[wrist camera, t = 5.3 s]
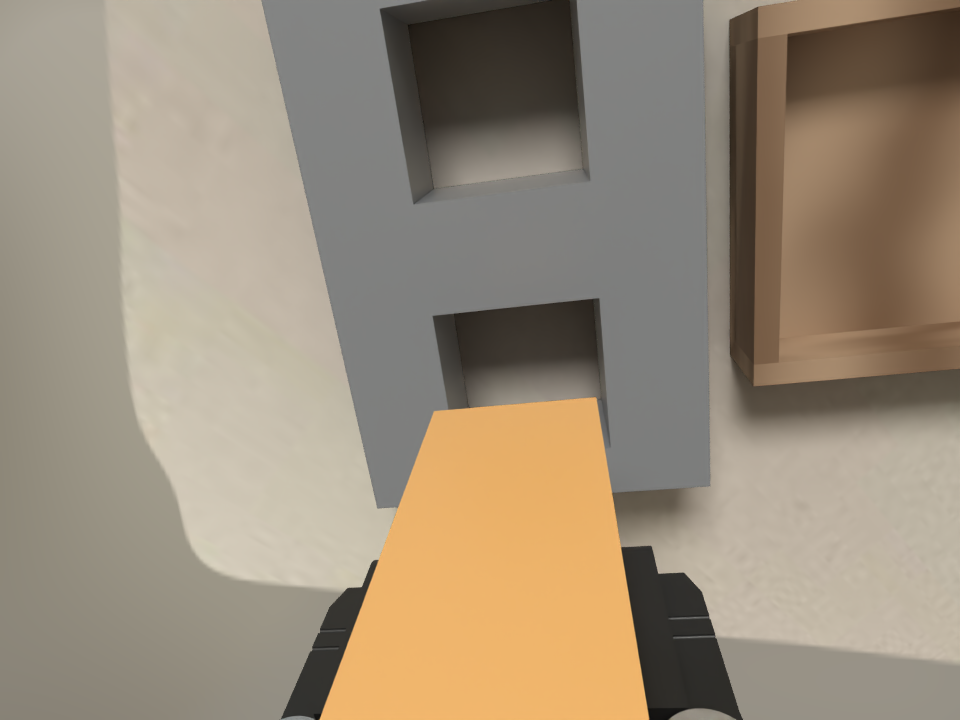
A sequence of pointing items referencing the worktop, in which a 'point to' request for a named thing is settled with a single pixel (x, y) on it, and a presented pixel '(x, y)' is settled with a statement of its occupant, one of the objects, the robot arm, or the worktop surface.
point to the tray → (845, 189)
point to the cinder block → (510, 225)
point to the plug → (499, 580)
